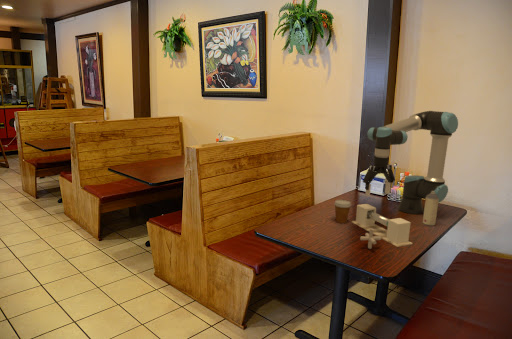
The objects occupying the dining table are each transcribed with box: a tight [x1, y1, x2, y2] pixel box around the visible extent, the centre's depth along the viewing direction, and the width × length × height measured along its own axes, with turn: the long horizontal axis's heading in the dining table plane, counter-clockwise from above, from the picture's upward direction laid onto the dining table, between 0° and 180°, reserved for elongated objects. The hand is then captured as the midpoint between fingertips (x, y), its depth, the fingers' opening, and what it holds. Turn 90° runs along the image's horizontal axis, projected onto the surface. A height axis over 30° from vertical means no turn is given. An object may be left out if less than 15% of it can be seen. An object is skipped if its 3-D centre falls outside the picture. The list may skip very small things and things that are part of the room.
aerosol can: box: [422, 191, 439, 227], centre depth 218 cm, size 7×7×20 cm
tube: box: [367, 211, 390, 228], centre depth 207 cm, size 24×4×4 cm, turn 23°
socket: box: [386, 217, 412, 244], centre depth 192 cm, size 7×8×11 cm
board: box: [350, 220, 413, 248], centre depth 205 cm, size 37×10×1 cm, turn 23°
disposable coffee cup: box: [334, 199, 352, 224], centre depth 219 cm, size 10×10×12 cm
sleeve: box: [355, 203, 377, 227], centre depth 215 cm, size 8×7×11 cm
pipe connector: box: [359, 228, 382, 250], centre depth 184 cm, size 10×10×10 cm
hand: (377, 194), depth 205 cm, fingers open, 13 cm apart
